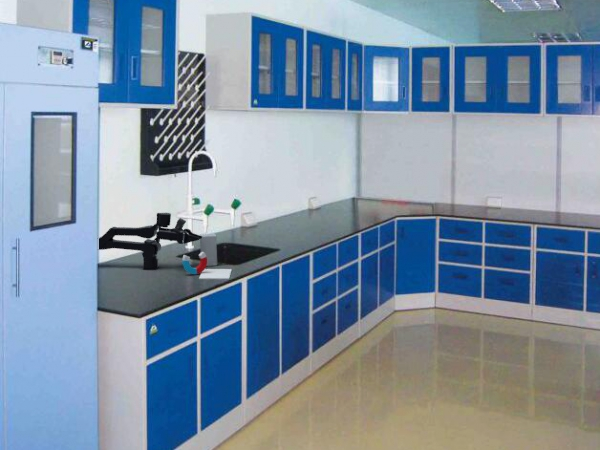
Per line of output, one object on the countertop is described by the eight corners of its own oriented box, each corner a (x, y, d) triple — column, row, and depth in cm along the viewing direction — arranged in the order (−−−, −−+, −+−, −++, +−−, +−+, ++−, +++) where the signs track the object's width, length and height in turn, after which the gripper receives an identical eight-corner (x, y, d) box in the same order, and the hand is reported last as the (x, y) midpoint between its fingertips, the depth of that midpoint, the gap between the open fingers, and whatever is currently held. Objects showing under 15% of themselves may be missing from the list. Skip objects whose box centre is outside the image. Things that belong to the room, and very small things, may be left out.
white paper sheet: (199, 279, 360) (199, 278, 360) (203, 269, 379) (203, 268, 379) (229, 279, 360) (229, 278, 360) (231, 270, 380) (231, 269, 380)
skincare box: (216, 263, 395) (216, 233, 393) (217, 266, 388) (217, 235, 386) (200, 263, 394) (199, 233, 392) (200, 266, 387) (200, 235, 385)
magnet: (185, 276, 366) (183, 255, 364) (183, 275, 368) (181, 255, 366) (208, 272, 371) (206, 251, 369) (206, 271, 373) (204, 251, 372)
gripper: (167, 219, 368) (199, 222, 368) (174, 217, 387) (204, 220, 387) (165, 242, 369) (197, 245, 369) (171, 239, 388) (202, 242, 388)
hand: (200, 238), depth 378 cm, fingers open, 9 cm apart
